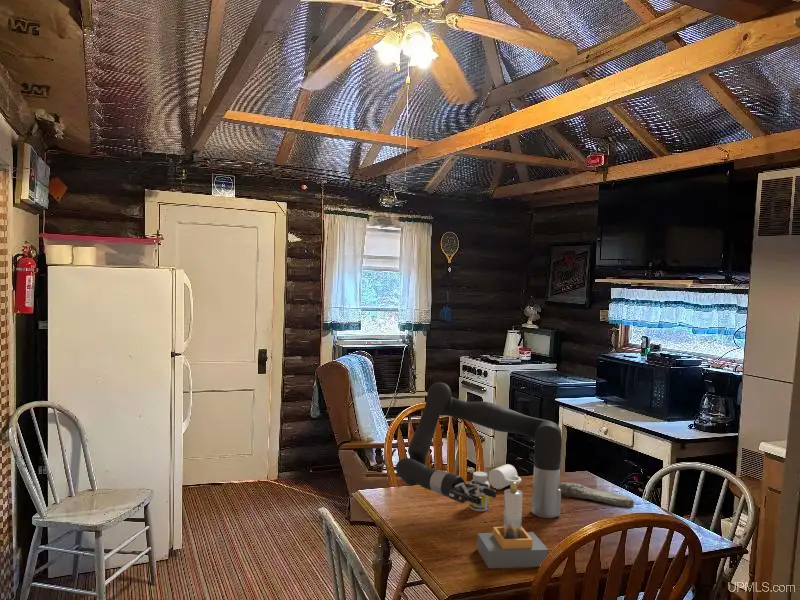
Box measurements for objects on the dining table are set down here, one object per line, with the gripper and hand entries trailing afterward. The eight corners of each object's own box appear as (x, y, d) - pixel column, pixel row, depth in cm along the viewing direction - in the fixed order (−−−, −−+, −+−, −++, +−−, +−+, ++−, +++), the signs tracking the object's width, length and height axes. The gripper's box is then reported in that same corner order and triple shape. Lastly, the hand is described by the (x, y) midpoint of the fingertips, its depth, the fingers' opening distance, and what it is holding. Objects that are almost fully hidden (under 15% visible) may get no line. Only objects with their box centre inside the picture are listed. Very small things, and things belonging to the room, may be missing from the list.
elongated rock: (631, 514, 214) (633, 507, 223) (633, 500, 214) (635, 494, 223) (538, 491, 230) (544, 485, 239) (540, 478, 230) (545, 472, 239)
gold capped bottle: (517, 536, 176) (519, 479, 175) (523, 544, 170) (525, 485, 170) (500, 537, 175) (502, 479, 174) (506, 545, 170) (508, 485, 169)
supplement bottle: (479, 503, 215) (481, 469, 215) (492, 509, 210) (494, 475, 209) (465, 506, 211) (466, 472, 211) (478, 513, 206) (479, 478, 205)
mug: (487, 486, 234) (488, 467, 234) (500, 480, 242) (501, 462, 241) (513, 494, 226) (514, 474, 226) (525, 488, 234) (526, 469, 233)
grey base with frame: (530, 545, 182) (531, 522, 181) (547, 566, 168) (548, 541, 168) (475, 546, 179) (476, 523, 179) (488, 568, 166) (489, 542, 165)
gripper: (434, 477, 184) (476, 491, 173) (459, 468, 194) (501, 480, 183) (433, 500, 184) (475, 516, 173) (458, 490, 194) (500, 503, 184)
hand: (488, 497), depth 178 cm, fingers open, 8 cm apart
